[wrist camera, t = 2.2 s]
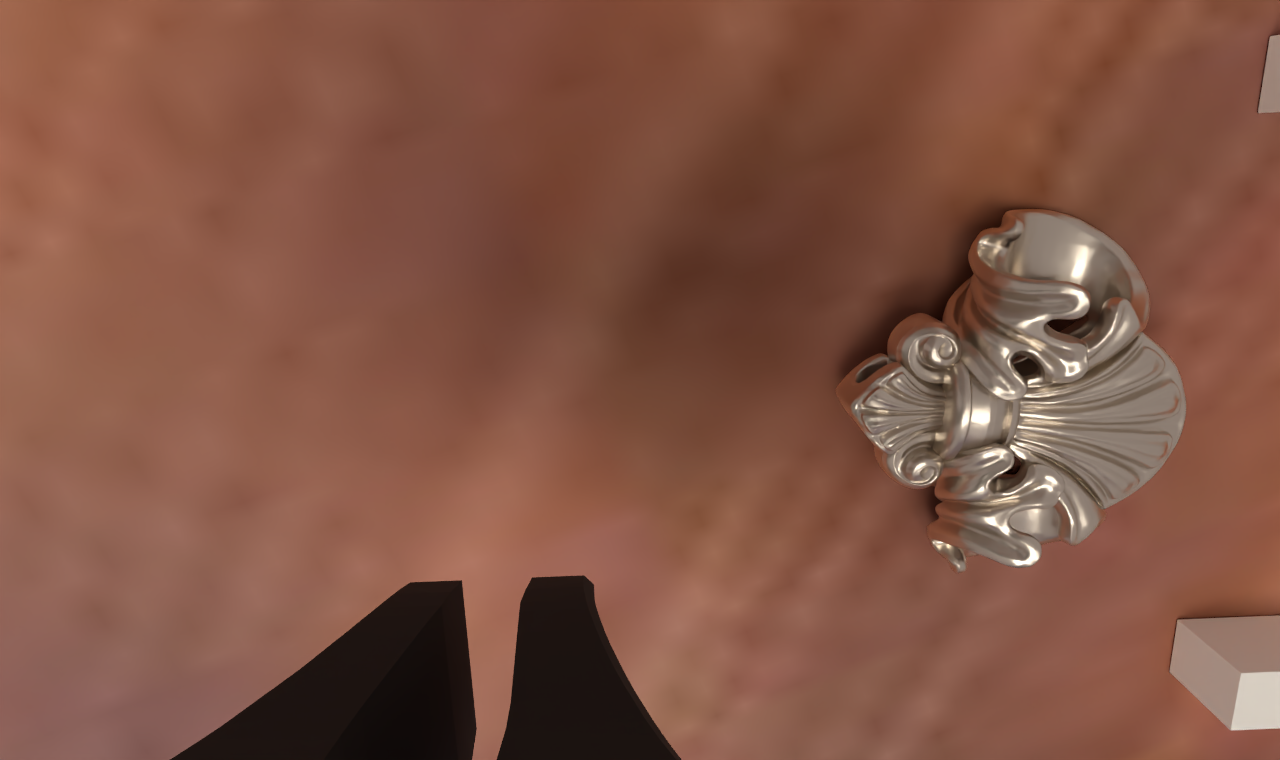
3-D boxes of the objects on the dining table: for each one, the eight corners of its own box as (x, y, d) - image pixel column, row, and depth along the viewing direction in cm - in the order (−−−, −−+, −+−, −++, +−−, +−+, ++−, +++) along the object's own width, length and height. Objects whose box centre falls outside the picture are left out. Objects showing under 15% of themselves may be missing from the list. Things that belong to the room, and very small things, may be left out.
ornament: (842, 198, 18) (895, 210, 15) (1151, 213, 18) (1278, 229, 15) (804, 535, 20) (843, 617, 17) (1082, 544, 20) (1179, 628, 17)
